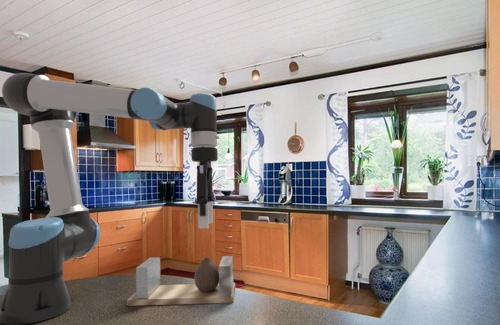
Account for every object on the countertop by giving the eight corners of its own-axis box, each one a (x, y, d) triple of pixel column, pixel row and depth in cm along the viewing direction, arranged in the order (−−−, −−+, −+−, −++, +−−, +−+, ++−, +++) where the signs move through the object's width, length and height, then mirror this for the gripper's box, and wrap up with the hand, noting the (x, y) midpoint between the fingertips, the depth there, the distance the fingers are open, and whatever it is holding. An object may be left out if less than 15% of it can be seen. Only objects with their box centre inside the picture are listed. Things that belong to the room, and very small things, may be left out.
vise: (127, 305, 86) (126, 269, 87) (142, 290, 98) (141, 258, 99) (233, 302, 86) (232, 265, 87) (235, 287, 98) (234, 255, 99)
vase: (189, 292, 91) (189, 260, 91) (204, 285, 97) (203, 255, 97) (210, 295, 88) (209, 262, 88) (224, 288, 94) (223, 257, 94)
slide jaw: (136, 298, 86) (136, 267, 87) (150, 284, 98) (150, 257, 99) (147, 298, 86) (147, 267, 87) (160, 284, 98) (160, 257, 99)
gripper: (212, 142, 84) (215, 230, 82) (220, 151, 106) (222, 220, 105) (183, 143, 84) (185, 231, 82) (197, 151, 106) (199, 221, 105)
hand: (206, 225), depth 93 cm, fingers open, 9 cm apart
